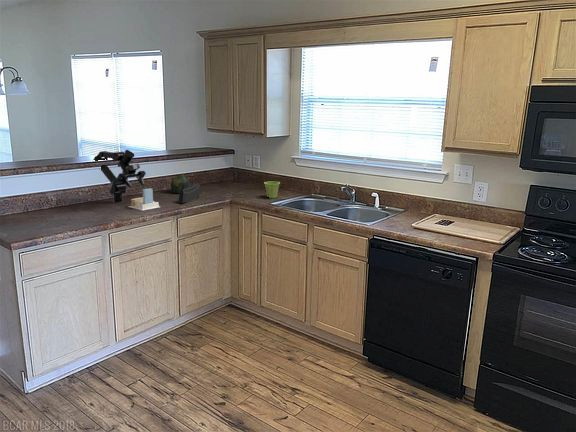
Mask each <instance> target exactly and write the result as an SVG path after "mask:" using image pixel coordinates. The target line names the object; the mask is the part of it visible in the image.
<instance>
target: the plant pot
mask: <svg viewBox="0 0 576 432" xmlns="http://www.w3.org/2000/svg"><path fill="white" fill-rule="evenodd" d="M263 184H264V186H265V192H266V196H267V197H269V199H276V197H278V194H279V193H278V192H279V187H280V184H281V182H280V181H264V183H263Z"/></svg>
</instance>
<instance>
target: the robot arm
mask: <svg viewBox="0 0 576 432" xmlns="http://www.w3.org/2000/svg"><path fill="white" fill-rule="evenodd" d="M134 157H135V154H134V152H133V151H130V150H129V149H125V150H124V151H115V152H112V151H107V150H102V151H99V152H98V154H97V155H95V156H94V158H93V160H95V161H98V160H105V159H106V160H109V159H112V160H113V161H114V162H117V167H118V168H120V169H121V170H122V172H121V173H118V176H116V175H115V174H114V173H113V172H112V170H111V169H110V168H109V166H108V164H107V165H102V166H101V170H100V171H101V172H102V174H104V177H106V179H107V180H108V181H109V182H110V184H111V188H110V190H109V194H111V195H113V201H112V203H114V204H115V203H121V202H124V198H123V194H125V193H126V191H127V187H128V188H132V185H131V182H130V181H129V179H130V178H131V179H132V178H136V180H137V181H138V183H140V185H141V186H143V187H144V186H145V183H144V177H145V176H146V175H147V174H146V171H145V170H139V169H140V168H141V165H140V164H139V163H138V162H137V163H135V164H130V163H131V162H132V161H133V159H134ZM93 160H92V161H93ZM137 170H138V172H137Z"/></svg>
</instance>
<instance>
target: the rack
mask: <svg viewBox="0 0 576 432" xmlns="http://www.w3.org/2000/svg"><path fill="white" fill-rule="evenodd" d="M127 208H132V209H135V210H140V211H146V210H152V209H157V208H161V205H159V202H158V201H154V200H153V203H149V204H144V205H143V203H140V204H138V208H137V207H133V206H131V205H128V206H127Z"/></svg>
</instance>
